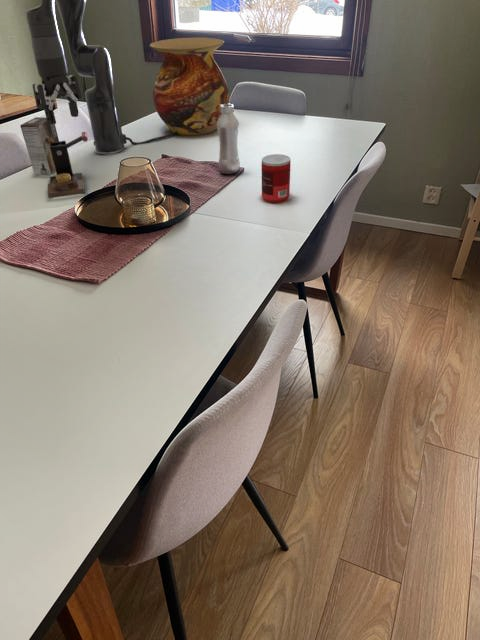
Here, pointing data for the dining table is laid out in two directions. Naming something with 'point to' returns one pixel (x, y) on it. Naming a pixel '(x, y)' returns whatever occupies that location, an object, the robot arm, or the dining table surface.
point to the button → (63, 178)
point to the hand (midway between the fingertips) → (64, 120)
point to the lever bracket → (62, 160)
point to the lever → (77, 140)
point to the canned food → (275, 178)
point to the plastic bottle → (228, 140)
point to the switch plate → (65, 188)
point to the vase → (189, 85)
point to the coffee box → (40, 144)
